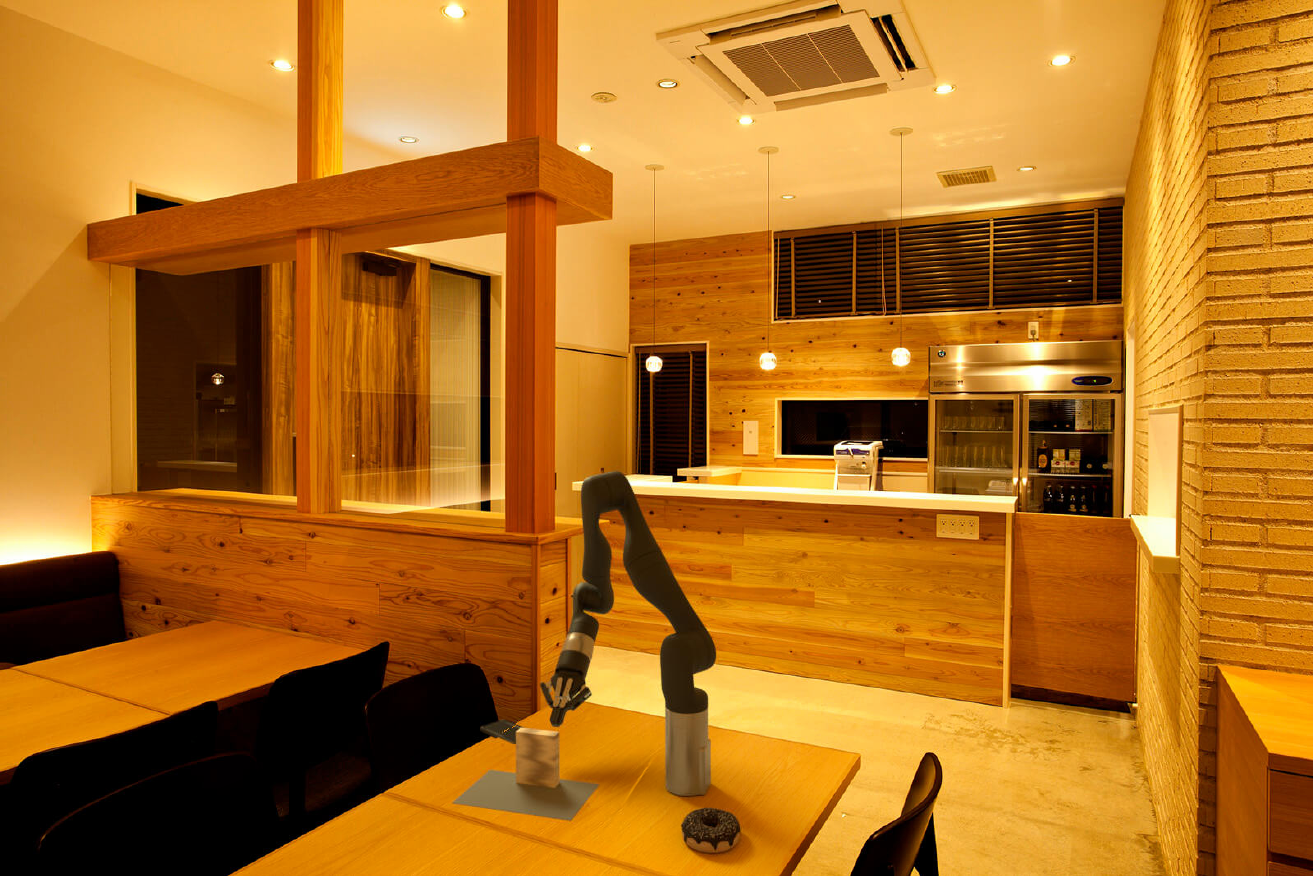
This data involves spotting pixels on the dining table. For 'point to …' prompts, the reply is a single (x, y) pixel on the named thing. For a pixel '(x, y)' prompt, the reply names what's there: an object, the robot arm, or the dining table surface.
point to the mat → (527, 796)
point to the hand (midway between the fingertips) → (554, 725)
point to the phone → (502, 730)
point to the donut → (711, 830)
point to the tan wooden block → (537, 757)
